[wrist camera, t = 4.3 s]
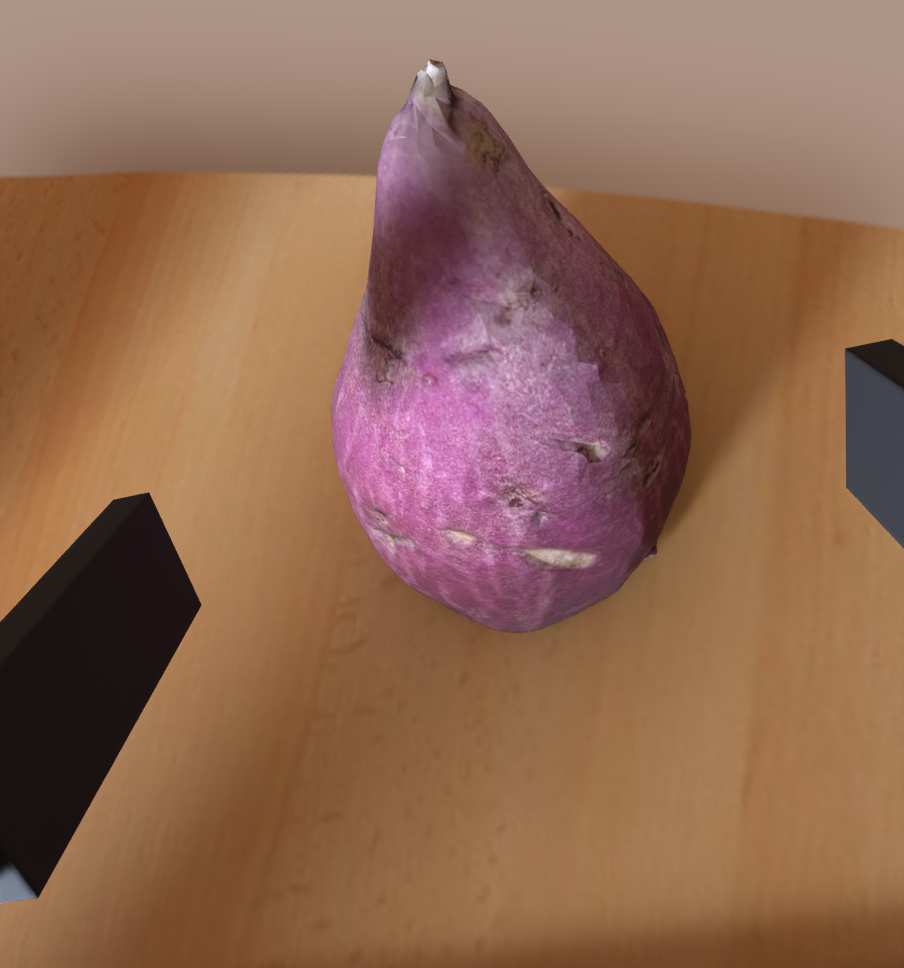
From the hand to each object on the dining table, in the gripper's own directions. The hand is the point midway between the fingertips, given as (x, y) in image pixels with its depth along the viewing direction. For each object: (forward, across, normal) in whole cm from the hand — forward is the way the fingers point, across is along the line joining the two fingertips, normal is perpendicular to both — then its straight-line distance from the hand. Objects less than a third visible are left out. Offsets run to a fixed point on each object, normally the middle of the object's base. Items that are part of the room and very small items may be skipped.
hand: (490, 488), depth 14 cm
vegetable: (+10, 0, -4) cm, 10 cm away
